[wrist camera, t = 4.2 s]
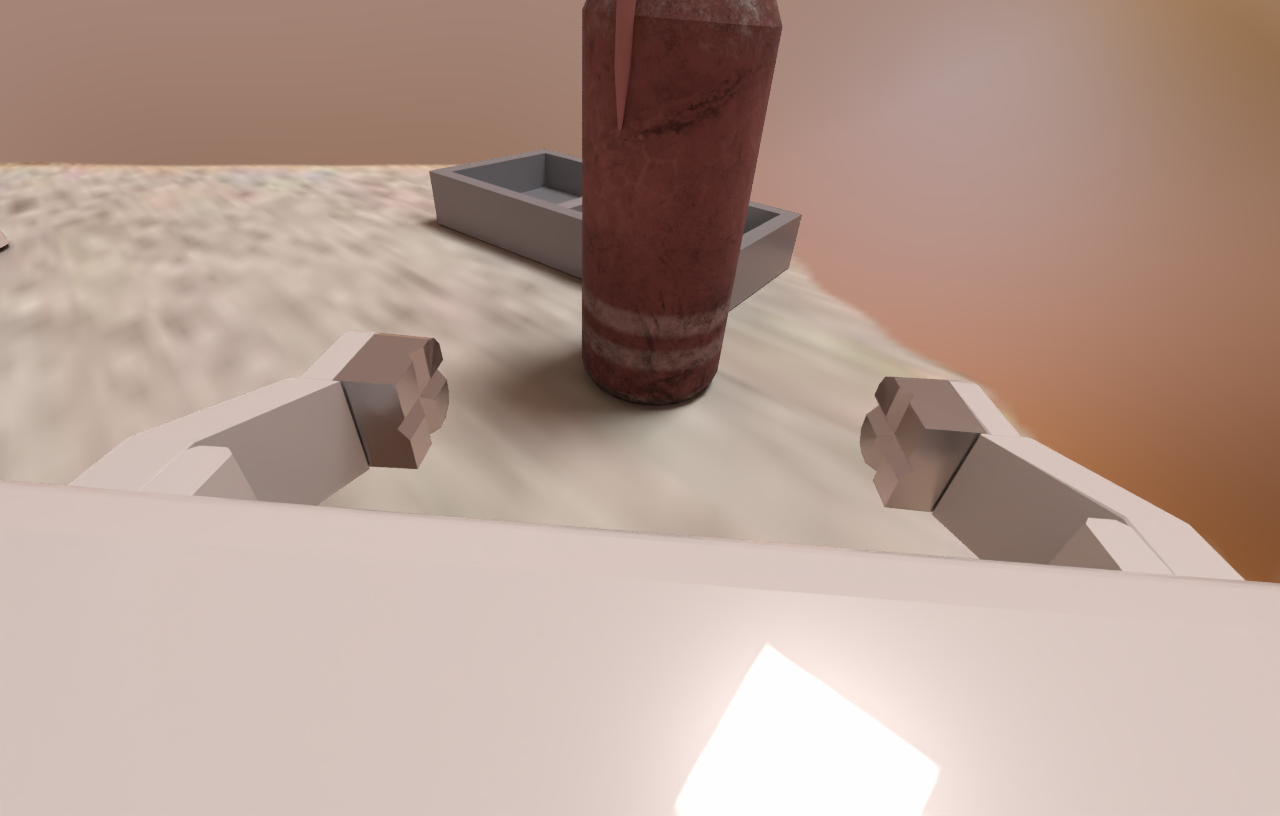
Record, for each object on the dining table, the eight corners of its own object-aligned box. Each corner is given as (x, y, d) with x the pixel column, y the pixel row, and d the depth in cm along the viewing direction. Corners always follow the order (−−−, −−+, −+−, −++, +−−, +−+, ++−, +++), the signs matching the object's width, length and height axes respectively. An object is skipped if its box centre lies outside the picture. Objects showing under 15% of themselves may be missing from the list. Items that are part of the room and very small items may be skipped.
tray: (438, 223, 37) (429, 171, 35) (546, 193, 44) (545, 148, 42) (707, 326, 28) (717, 263, 26) (788, 267, 35) (802, 214, 33)
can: (554, 386, 22) (537, -41, 14) (618, 324, 27) (635, -23, 19) (686, 430, 21) (759, -28, 12) (730, 356, 25) (805, -12, 17)
